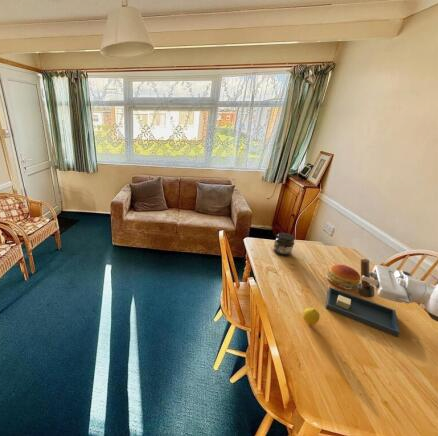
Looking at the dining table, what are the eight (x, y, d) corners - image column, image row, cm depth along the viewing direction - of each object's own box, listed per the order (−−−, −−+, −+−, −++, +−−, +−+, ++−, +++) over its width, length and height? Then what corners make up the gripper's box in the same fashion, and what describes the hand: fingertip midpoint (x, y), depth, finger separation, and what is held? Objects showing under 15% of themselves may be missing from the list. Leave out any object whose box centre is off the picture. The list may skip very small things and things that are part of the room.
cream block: (348, 304, 107) (351, 299, 106) (347, 309, 104) (350, 305, 103) (336, 299, 110) (338, 294, 108) (335, 304, 107) (337, 300, 105)
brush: (376, 293, 97) (375, 259, 93) (371, 299, 94) (370, 264, 91) (360, 288, 101) (359, 256, 97) (355, 294, 99) (354, 261, 95)
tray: (392, 315, 102) (395, 310, 101) (396, 338, 92) (400, 332, 90) (327, 291, 115) (329, 286, 114) (325, 309, 105) (327, 304, 104)
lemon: (300, 315, 102) (305, 302, 98) (315, 321, 99) (321, 307, 96) (300, 324, 98) (306, 311, 94) (316, 330, 95) (322, 316, 92)
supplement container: (276, 246, 154) (280, 230, 149) (293, 252, 147) (298, 236, 142) (269, 251, 148) (273, 235, 143) (286, 258, 141) (292, 242, 136)
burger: (329, 288, 117) (336, 273, 113) (320, 272, 129) (326, 258, 124) (361, 294, 113) (369, 279, 109) (349, 277, 125) (356, 262, 120)
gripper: (410, 311, 83) (360, 294, 90) (399, 281, 97) (357, 268, 105) (418, 298, 80) (366, 282, 88) (406, 269, 95) (362, 257, 102)
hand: (361, 274), depth 96 cm, fingers closed on brush, 2 cm apart
